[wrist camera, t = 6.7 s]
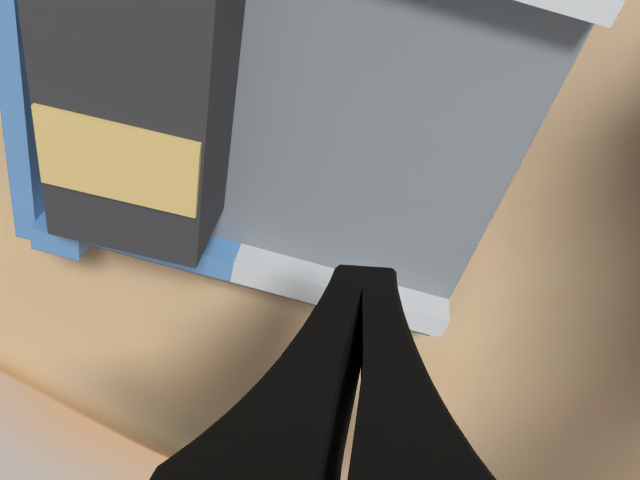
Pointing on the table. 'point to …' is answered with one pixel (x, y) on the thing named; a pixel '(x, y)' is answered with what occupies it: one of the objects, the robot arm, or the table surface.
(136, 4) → the block
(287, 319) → the table surface
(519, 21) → the tray
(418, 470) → the robot arm
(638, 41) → the table surface
